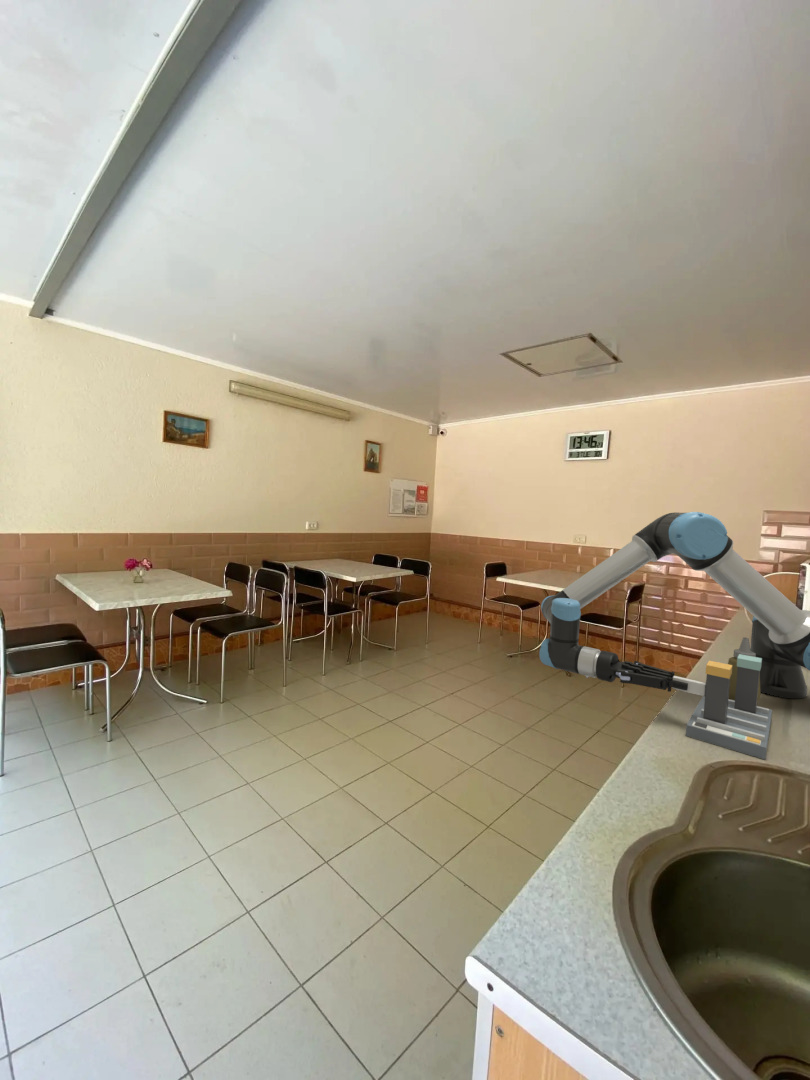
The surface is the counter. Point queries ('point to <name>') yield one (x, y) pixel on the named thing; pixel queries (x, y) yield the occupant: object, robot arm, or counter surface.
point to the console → (733, 729)
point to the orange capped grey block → (717, 691)
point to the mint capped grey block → (747, 683)
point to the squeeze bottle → (732, 661)
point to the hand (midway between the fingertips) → (705, 689)
